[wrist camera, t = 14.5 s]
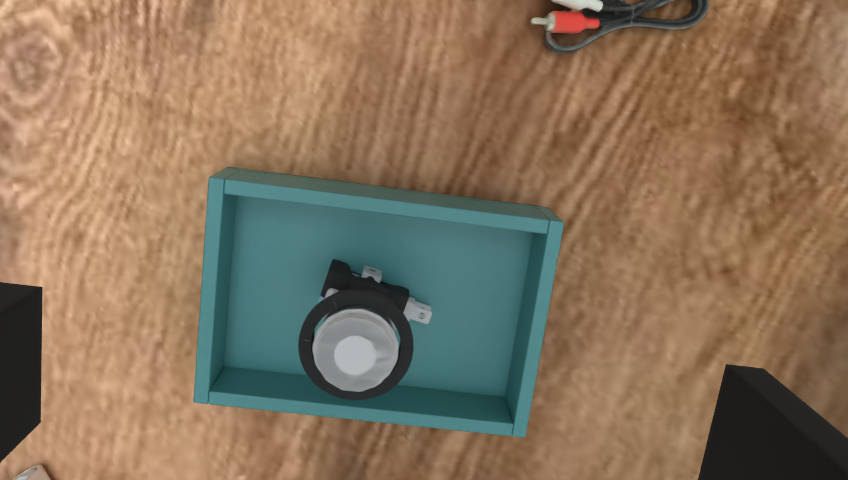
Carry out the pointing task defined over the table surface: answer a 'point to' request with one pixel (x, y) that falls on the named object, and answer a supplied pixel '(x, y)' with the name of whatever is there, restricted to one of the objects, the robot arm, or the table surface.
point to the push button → (359, 334)
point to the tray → (400, 264)
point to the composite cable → (608, 19)
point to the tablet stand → (33, 474)
